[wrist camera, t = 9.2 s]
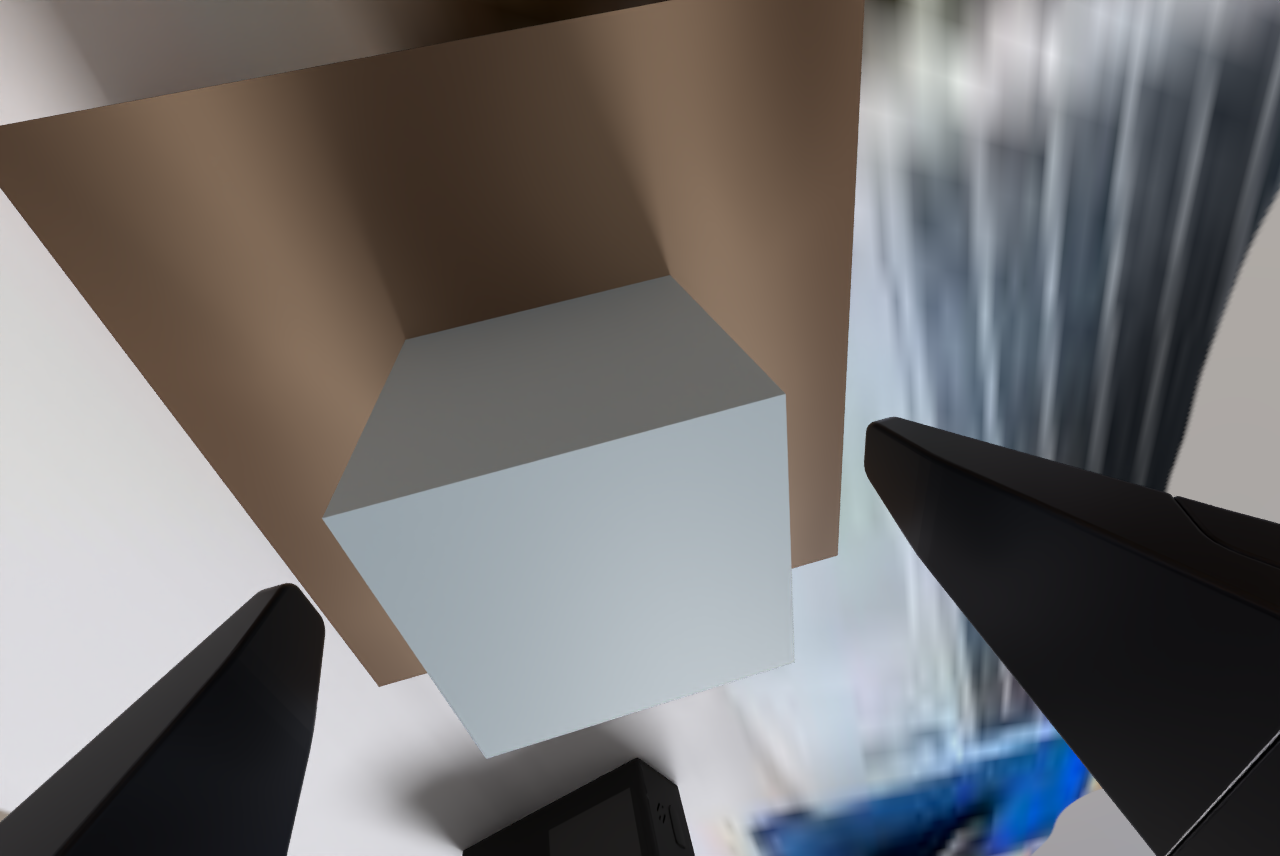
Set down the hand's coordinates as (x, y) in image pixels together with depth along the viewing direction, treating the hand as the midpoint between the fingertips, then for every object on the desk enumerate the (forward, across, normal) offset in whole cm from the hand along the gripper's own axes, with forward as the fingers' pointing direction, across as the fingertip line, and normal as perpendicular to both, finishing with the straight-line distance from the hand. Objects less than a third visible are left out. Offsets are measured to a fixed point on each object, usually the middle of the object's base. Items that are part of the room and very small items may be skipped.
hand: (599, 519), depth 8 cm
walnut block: (+7, 0, 0) cm, 7 cm away
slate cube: (+3, 0, 0) cm, 3 cm away
